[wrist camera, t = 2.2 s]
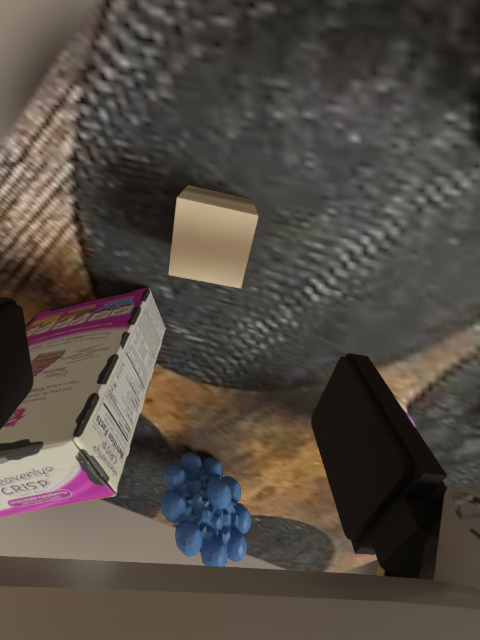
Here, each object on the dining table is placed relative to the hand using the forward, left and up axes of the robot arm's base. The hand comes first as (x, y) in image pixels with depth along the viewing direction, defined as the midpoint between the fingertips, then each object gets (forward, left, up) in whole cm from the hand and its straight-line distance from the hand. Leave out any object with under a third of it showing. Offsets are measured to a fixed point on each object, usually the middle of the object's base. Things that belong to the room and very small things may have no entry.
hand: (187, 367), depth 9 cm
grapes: (+29, +5, -18) cm, 34 cm away
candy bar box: (+11, -8, -18) cm, 23 cm away
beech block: (0, 0, -18) cm, 18 cm away
